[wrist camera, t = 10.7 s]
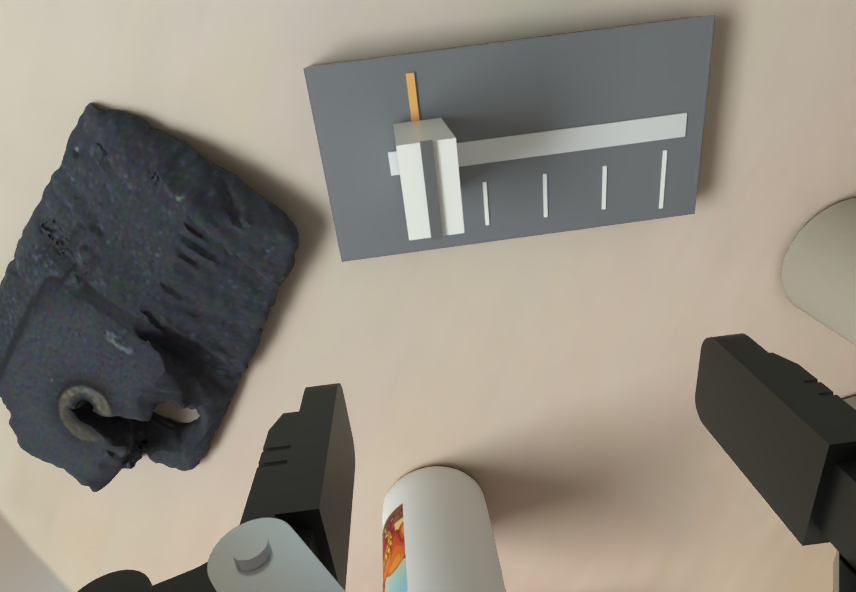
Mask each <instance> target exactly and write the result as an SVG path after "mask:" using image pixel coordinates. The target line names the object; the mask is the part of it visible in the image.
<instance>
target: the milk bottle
mask: <svg viewBox="0 0 856 592" xmlns="http://www.w3.org/2000/svg"><path fill="white" fill-rule="evenodd" d="M383 592H506V590H505V585H504V581H503V576H502V571H501V567H500V562H499V558H498V553H497V549H496V544H495V540H494V535H493V531H492V527H491V522H490V518H489V513H488V509H487V505H486V501H485V498H484V494H483V492H482V490H481V488H480V486H479V485H478V484H477V483H476V482H475V481H474V480H473V479H472V478H471V477H470V476H468V475H467V474H466V473H464V472H462V471H459V470H457V469H454V468H450V467H441V466H434V467H425V468H421V469H417V470H415V471H412V472H410V473H408V474H406V475H405V476H403V477H401V478H400V479H399V480H398V481H397V482H396V483H395V484H394V485H393V486H392V488H391V489H390V490H389V492H388V494H387V496H386V498H385V501H384V505H383Z"/></svg>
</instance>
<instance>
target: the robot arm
mask: <svg viewBox="0 0 856 592" xmlns="http://www.w3.org/2000/svg"><path fill="white" fill-rule="evenodd" d="M695 403H696V409H697V412H698V415H699V417H700V420H701V421H702V423H703V424H704V426H705V427H706V428H707V430H708V431H709V432H710V433H711V434H712V436H713V437H714V438H715V439H716V441H717V442H718V443H719V444H720V445H721V447H722V448H723V449H724V450H725V452H726V453H727V454H728V455H729V456H730V458H731V459H732V460H733V461H734V463H735V464H736V465H737V466H738V467H739V469H740V470H741V471H742V472H743V474H744V475H745V476H746V477H747V478H748V480H749V481H750V482H751V483H752V485H753V486H754V487H755V488H756V489H757V491H758V492H759V493H760V494H761V496H762V497H763V498H764V499H765V500H766V502H767V503H768V504H769V505H770V507H771V508H772V509H773V510H774V511H775V513H776V514H777V515H778V516H779V518H780V519H781V520H782V521H783V522H784V524H785V525H786V526H787V527H788V529H789V530H790V531H791V532H792V533H793V535H794V536H795V537H796V538H797V540H798V541H799V542H800V543H801V544H802V546H804V545H811V544H819V543H827V542H831V543H832V544H833V546H834V547H835V548H836V549H837V552H836V555H835V558H834V563H833V592H856V396H853V397H850V398H846V399H841V398H840V397H839V396H838V395H833V391H831V390H830V389H829V388H828V387H826V386H825V385H824V384H822V383H821V382H819V383H818V382H817V379H816V378H815V377H814V376H812V375H811V374H810V373H809V372H807V371H806V370H805V369H804V368H802V367H801V366H800V365H798V364H796V363H794V362H792V361H790V360H788V359H785V358H783V357H781V356H779V355H777V354H774V353H768V352H767V351H766V350H764V349H763V348H762V347H761V346H760V345H758V344H757V343H756V342H755V341H753V340H752V339H751V338H750V337H749V336H747V335H745V334H734V335H726V336H718V337H710V338H706V339H705V340H704V342H703V343H702V347H701V354H700V362H699V370H698V378H697V386H696V393H695ZM354 474H355V451H354V443H353V437H352V432H351V427H350V423H349V418H348V413H347V408H346V404H345V399H344V394H343V390H342V387H341V384H340V383H337V384H330V385H322V386H314V387H306V388H305V391H304V395H303V399H302V403H301V407H300V411H299V412H292V413H284V414H283V415H282V416H281V417H280V418H279V419H278V420H277V421H276V423H275V424H274V425H273V426H272V427H271V428H270V430H269V431H268V435H267V438H266V441H265V444H264V448H263V452H262V454H261V457H260V461H259V468H257V470H256V474H255V477H254V480H253V483H252V487H251V490H250V493H249V496H248V500H247V503H246V506H245V509H244V512H243V516H242V519H241V522H240V525H239V526H237V527H235V528H234V529H233V530H231V531H230V532H228V533H227V534H226V535H225V536H224V537H223V538H222V539H221V540H220V541H219V542H218V543H217V544H216V546H215V547H214V549H213V550H212V552H211V554H210V557H209V560H208V562H206V563H205V564H203V565H201V566H199V567H197V568H195V569H193V570H191V571H188V572H186V573H183V574H181V575H178V576H176V577H173V578H171V579H168V580H166V581H163V582H161V583H158V584H156V585H153V586H152V584H151V582H150V580H149V578H148V577H147V576H146V575H145V574H143V573H141V572H139V571H135V570H120V571H116V572H112V573H109V574H106V575H104V576H102V577H99V578H97V579H95V580H94V581H92V582H90V583H89V584H87V585H86V586H84V587H83V588H81V589H80V590H79V591H78V592H345V586H346V574H347V561H348V549H349V536H350V524H351V511H352V499H353V486H354Z"/></svg>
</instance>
